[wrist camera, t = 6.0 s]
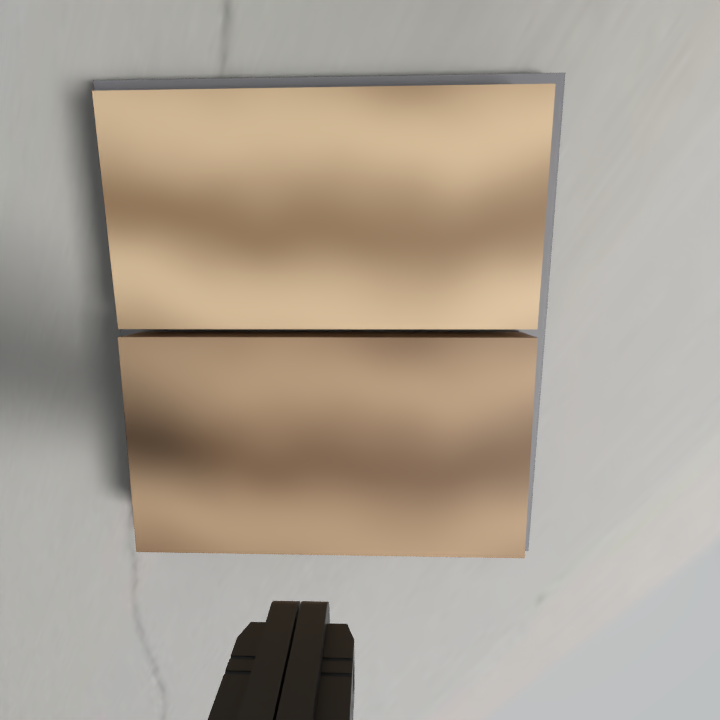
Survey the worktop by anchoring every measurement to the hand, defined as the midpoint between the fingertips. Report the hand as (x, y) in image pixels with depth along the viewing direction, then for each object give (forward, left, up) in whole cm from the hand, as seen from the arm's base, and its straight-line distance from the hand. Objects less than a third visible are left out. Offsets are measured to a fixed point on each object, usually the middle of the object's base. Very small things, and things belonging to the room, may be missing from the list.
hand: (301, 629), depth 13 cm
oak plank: (-11, 0, -10) cm, 15 cm away
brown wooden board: (-2, 0, -9) cm, 9 cm away
